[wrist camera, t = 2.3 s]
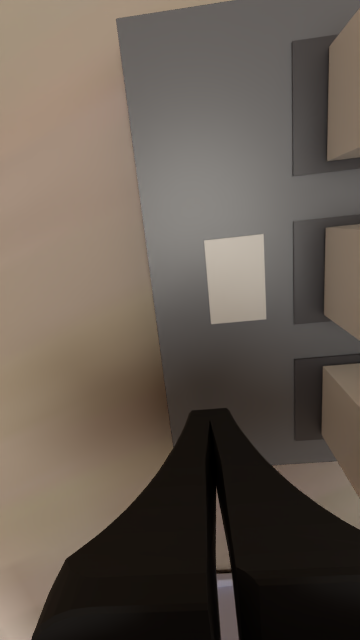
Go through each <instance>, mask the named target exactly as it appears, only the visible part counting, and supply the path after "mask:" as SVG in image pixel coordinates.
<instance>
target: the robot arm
mask: <svg viewBox="0 0 360 640" xmlns="http://www.w3.org/2000/svg"><path fill="white" fill-rule="evenodd" d="M216 488H217V493H218V498H219V504H220V509H221V514H222V519H223V525H224V530H225V535H226V540H227V546H228V551H229V557H230V564H231V571H232V573H223V574H216ZM32 640H360V530H359V529H357V528H355V527H354V526H352V525H350V524H348V523H346V522H345V521H343V520H341V519H340V518H338V517H337V516H335V515H333V514H332V513H330V512H329V511H327V510H326V509H324V508H323V507H321V506H320V505H318V504H317V503H316V502H314V501H313V500H312V499H310V498H309V497H308V496H306V495H305V494H303V493H302V492H301V491H299V490H298V489H297V488H296V487H295V486H293V485H292V484H291V483H290V482H289V481H287V480H286V479H285V478H284V477H283V476H282V475H281V474H280V473H279V472H278V471H277V470H275V469H274V468H273V467H272V466H271V465H270V464H269V462H268V461H267V460H266V459H265V458H264V457H263V456H262V455H261V454H260V453H259V452H258V450H257V449H256V448H255V447H254V446H253V445H252V443H251V442H250V441H249V439H248V438H247V437H246V436H245V434H244V433H243V432H242V430H241V429H240V427H239V426H238V424H237V423H236V421H235V420H234V418H233V416H232V414H231V413H230V410H228V409H227V408H217V409H204V410H192V411H191V412H190V413H189V415H188V418H187V421H186V423H185V426H184V428H183V430H182V432H181V434H180V436H179V438H178V440H177V442H176V444H175V446H174V448H173V449H172V451H171V453H170V454H169V456H168V457H167V459H166V461H165V462H164V464H163V465H162V467H161V468H160V470H159V471H158V473H157V474H156V475H155V477H154V478H153V479H152V481H151V482H150V483H149V484H148V486H147V487H146V488H145V489H144V490H143V492H142V493H141V494H140V495H139V496H138V497H137V498H136V500H135V501H134V502H133V503H132V504H131V505H130V506H129V507H128V508H127V509H126V510H125V511H124V512H123V513H122V514H121V515H120V516H119V517H118V518H117V519H116V520H114V521H113V522H112V523H111V524H110V525H109V526H108V527H107V528H106V529H105V530H103V531H102V532H101V533H100V534H98V535H97V536H96V537H95V538H93V539H92V540H91V541H89V542H88V543H87V544H85V545H84V546H83V547H82V548H80V549H79V550H78V551H76V552H75V553H74V554H72V555H71V556H69V557H68V558H67V559H66V560H65V562H64V564H63V566H62V568H61V570H60V572H59V574H58V576H57V578H56V580H55V582H54V584H53V586H52V588H51V590H50V592H49V594H48V597H47V600H46V602H45V605H44V607H43V610H42V612H41V615H40V618H39V620H38V623H37V625H36V628H35V631H34V633H33V636H32Z"/></svg>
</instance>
